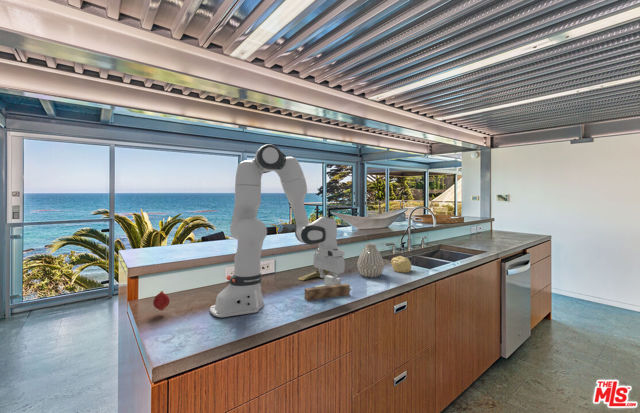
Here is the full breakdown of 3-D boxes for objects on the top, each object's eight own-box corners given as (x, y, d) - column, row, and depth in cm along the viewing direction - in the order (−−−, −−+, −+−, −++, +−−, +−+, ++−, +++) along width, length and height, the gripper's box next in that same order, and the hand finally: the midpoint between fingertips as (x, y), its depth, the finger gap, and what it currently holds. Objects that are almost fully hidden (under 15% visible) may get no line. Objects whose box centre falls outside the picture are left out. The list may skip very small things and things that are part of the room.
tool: (300, 282, 166) (299, 274, 166) (297, 281, 171) (296, 273, 172) (335, 275, 175) (334, 267, 175) (331, 274, 181) (330, 266, 181)
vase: (389, 277, 176) (389, 244, 176) (370, 281, 167) (370, 246, 167) (370, 272, 190) (370, 241, 189) (351, 275, 181) (352, 243, 180)
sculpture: (388, 271, 192) (388, 255, 192) (402, 270, 197) (402, 254, 197) (400, 275, 181) (400, 258, 181) (414, 273, 187) (415, 256, 186)
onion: (152, 313, 117) (152, 293, 117) (154, 309, 122) (154, 289, 122) (168, 311, 119) (168, 292, 119) (169, 307, 124) (169, 288, 124)
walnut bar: (307, 301, 133) (307, 290, 133) (304, 299, 136) (304, 288, 136) (349, 295, 142) (349, 285, 142) (346, 293, 145) (346, 283, 145)
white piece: (329, 294, 143) (329, 281, 143) (314, 288, 154) (314, 276, 154) (350, 289, 151) (350, 277, 151) (335, 283, 162) (335, 273, 162)
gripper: (310, 248, 146) (310, 276, 146) (336, 254, 129) (336, 285, 129) (320, 247, 149) (320, 274, 150) (346, 252, 133) (347, 282, 133)
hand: (328, 279), depth 139 cm, fingers open, 8 cm apart
